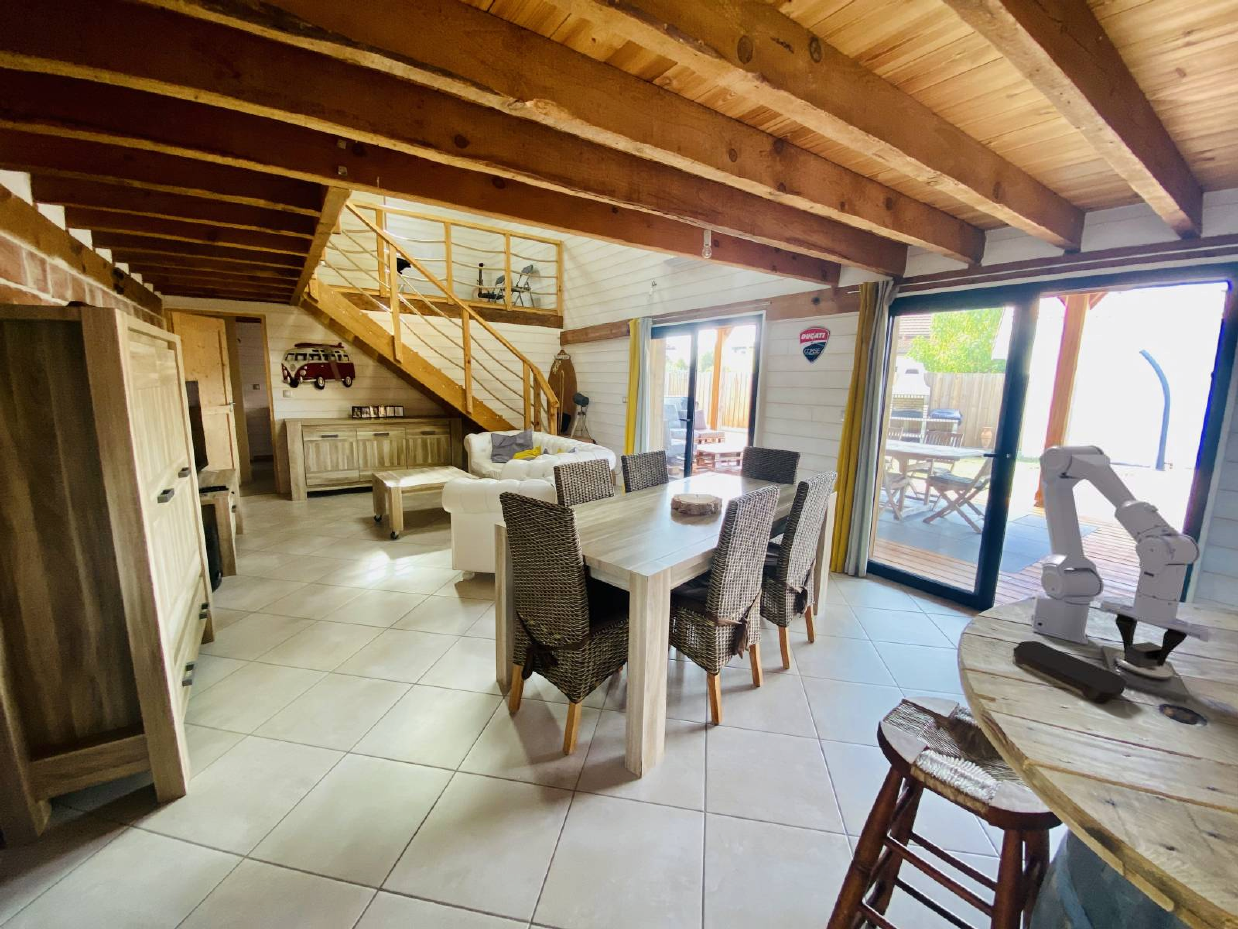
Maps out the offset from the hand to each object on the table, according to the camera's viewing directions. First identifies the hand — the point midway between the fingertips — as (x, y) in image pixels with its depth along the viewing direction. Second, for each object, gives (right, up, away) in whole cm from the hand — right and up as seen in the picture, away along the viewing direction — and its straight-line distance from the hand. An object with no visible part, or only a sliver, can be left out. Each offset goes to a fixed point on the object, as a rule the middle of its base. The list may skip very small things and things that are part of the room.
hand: (1144, 658), depth 96 cm
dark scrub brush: (-16, -4, 0) cm, 17 cm away
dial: (0, -2, 0) cm, 2 cm away
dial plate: (0, -4, +1) cm, 4 cm away
